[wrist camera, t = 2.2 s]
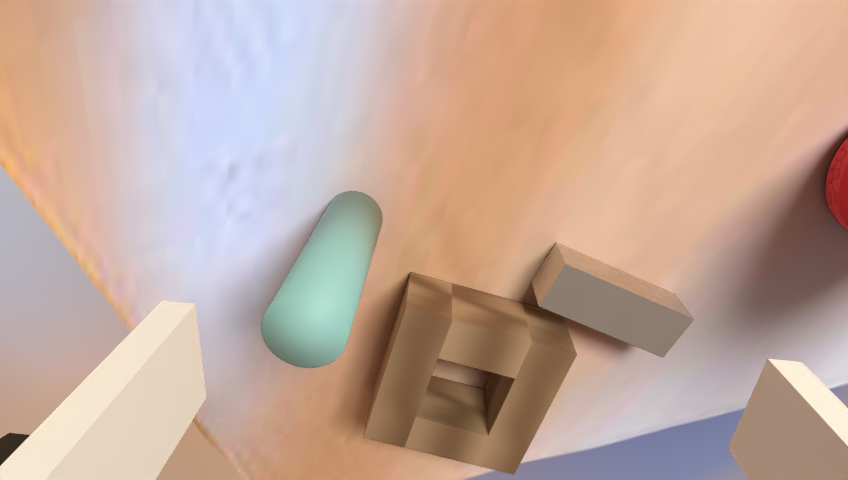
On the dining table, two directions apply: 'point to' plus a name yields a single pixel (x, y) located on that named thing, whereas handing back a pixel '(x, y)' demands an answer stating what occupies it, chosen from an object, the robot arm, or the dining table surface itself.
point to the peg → (324, 284)
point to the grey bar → (610, 300)
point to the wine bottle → (838, 185)
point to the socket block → (475, 347)
